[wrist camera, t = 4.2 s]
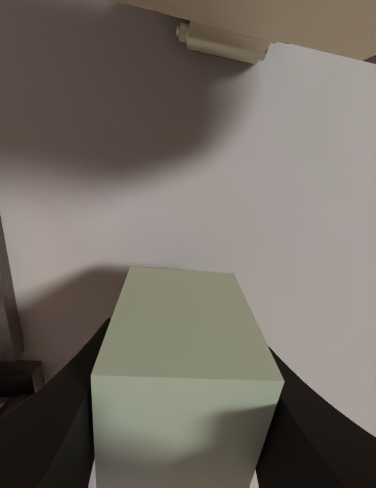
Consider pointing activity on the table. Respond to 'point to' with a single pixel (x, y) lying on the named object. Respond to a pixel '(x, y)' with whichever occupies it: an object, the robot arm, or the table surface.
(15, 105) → the table surface
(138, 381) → the sage green cube
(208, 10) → the pneumatic valve
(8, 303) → the motor mount
